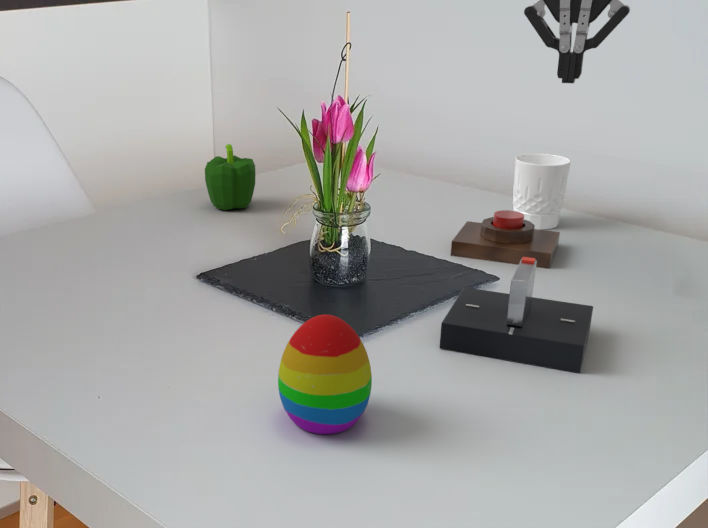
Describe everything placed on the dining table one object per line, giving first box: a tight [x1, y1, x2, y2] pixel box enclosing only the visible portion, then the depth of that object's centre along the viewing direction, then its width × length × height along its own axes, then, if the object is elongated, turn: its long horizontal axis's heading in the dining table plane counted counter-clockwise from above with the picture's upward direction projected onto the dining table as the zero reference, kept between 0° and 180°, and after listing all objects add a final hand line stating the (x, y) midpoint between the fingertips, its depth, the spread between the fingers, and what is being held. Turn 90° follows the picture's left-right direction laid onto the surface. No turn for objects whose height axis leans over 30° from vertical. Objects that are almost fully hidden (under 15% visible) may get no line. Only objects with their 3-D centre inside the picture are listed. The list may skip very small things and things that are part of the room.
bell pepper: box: [204, 143, 256, 211], centre depth 136 cm, size 8×8×10 cm
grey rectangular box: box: [506, 257, 537, 327], centre depth 88 cm, size 7×2×5 cm, turn 156°
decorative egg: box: [277, 313, 373, 435], centre depth 73 cm, size 8×8×10 cm
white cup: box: [512, 153, 572, 230], centre depth 126 cm, size 8×8×10 cm
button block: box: [450, 216, 561, 270], centre depth 116 cm, size 13×10×4 cm
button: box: [493, 209, 524, 229], centre depth 115 cm, size 4×4×2 cm
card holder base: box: [439, 286, 594, 374], centre depth 89 cm, size 14×11×3 cm
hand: (568, 82), depth 108 cm, fingers closed
